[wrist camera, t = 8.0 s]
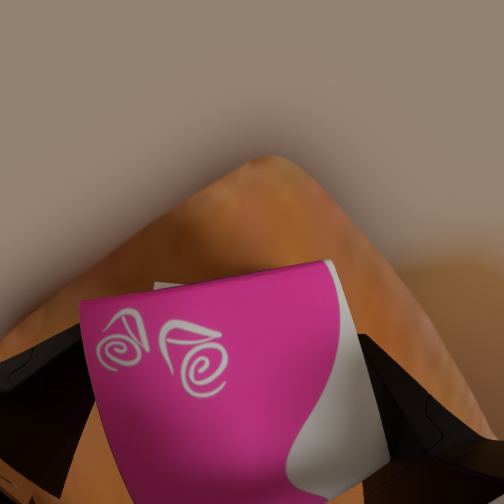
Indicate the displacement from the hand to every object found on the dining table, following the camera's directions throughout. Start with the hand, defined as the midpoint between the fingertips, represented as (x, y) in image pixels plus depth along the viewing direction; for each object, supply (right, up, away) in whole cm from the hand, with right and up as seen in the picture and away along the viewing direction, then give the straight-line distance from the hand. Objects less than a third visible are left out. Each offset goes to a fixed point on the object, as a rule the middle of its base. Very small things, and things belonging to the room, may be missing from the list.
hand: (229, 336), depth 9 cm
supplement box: (-3, -5, +5) cm, 8 cm away
